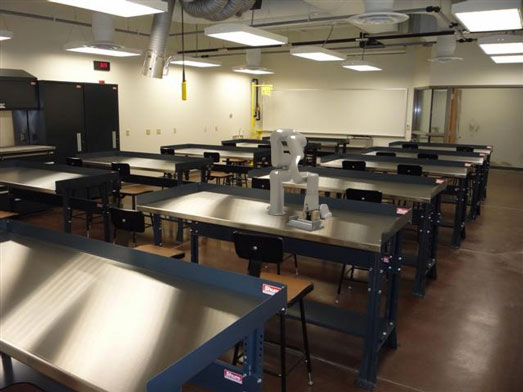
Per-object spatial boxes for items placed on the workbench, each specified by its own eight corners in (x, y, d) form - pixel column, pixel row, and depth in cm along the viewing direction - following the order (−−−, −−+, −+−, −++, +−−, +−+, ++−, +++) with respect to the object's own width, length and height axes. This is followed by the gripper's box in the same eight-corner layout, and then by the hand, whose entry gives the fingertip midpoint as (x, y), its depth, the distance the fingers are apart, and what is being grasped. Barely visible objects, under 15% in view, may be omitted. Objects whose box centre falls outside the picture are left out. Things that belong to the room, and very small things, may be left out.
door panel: (302, 222, 297) (302, 208, 295) (305, 221, 299) (305, 208, 297) (316, 225, 289) (317, 211, 287) (319, 224, 291) (320, 211, 289)
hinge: (325, 219, 305) (321, 205, 304) (319, 221, 307) (315, 207, 306) (332, 215, 320) (328, 201, 319) (325, 216, 322) (322, 203, 321)
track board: (285, 225, 287) (285, 217, 286) (299, 222, 296) (299, 214, 296) (310, 231, 273) (310, 223, 272) (324, 228, 283) (324, 219, 282)
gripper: (315, 190, 299) (314, 217, 302) (299, 193, 287) (298, 221, 290) (324, 192, 294) (323, 219, 297) (308, 194, 282) (307, 223, 285)
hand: (310, 219), depth 293 cm, fingers open, 4 cm apart
